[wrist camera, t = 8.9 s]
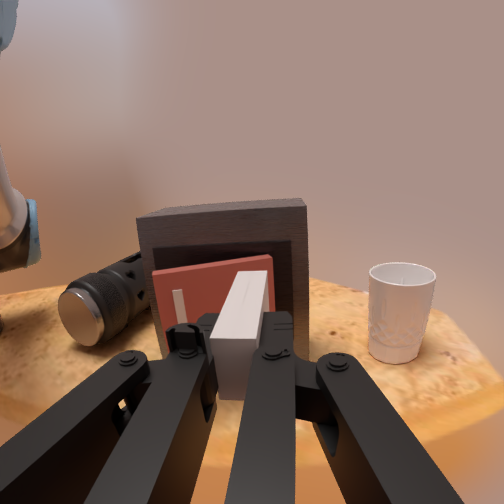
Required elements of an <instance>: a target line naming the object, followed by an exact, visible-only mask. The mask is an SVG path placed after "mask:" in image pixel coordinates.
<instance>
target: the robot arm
mask: <svg viewBox="0 0 504 504" xmlns="http://www.w3.org/2000/svg"><path fill="white" fill-rule="evenodd" d="M17 7H18V0H0V52H1V51H3V50H4V49H6V48H7V47H8V45H9V44H10V42H11V40H12V37H13V34H14V30H15V25H16V17H17V16H16V9H17ZM40 259H41V251H40V242H39V232H38V221H37V207H36V201H35V200H29V199H26V200H25V199H24V197H23V196H22V194H21V193H20V192H19V191H17V190H16V189H14V188H12V186H11V183H10V180H9V176H8V172H7V169H6V165H5V162H4V158H3V154H2V150H1V146H0V273H3V272H7V271H11V270H15V269H19V268H27V267H28V266H30V265H33V264H36V263H38V262H39V261H40ZM3 326H4V324H3V321H2V318H1V315H0V332H1V331H2V329H3ZM165 333H166V338H167V342H168V347H169V351H170V352H169V354H168V356H167V357H166V359H162V360H154V361H148V360H147V356H146V355H145V354H144V353H143V352H141V351H136V350H130V351H129V350H128V351H125V352H121V353H119V354H118V355H116V356H114V357H113V358H112V359H111V360H109V361H108V362H107V363H105V364H104V365H103V366H102V367H100V368H99V369H98V370H97V371H95V372H94V373H93V374H92V375H90V376H89V377H88V378H87V379H85V380H84V381H83V382H81V383H80V384H79V385H78V386H76V387H75V388H74V389H73V390H71V391H70V392H69V393H68V394H66V395H65V396H64V397H63V398H61V399H60V400H59V401H57V402H56V403H55V404H54V405H52V406H51V407H50V408H49V409H47V410H46V411H45V412H44V413H42V414H41V415H40V416H39V417H37V418H36V419H35V420H34V421H32V422H31V423H30V424H29V425H27V426H26V427H25V428H23V429H22V430H21V431H20V432H19V433H17V434H16V435H15V436H14V437H12V438H11V439H10V440H8V441H7V442H6V443H5V444H3V445H2V446H1V447H0V504H190V502H191V498H192V495H193V491H194V488H195V484H196V481H197V477H198V474H199V470H200V467H201V463H202V460H203V456H204V453H205V449H206V446H207V442H208V439H209V435H210V431H211V428H212V424H213V421H214V417H215V414H216V410H217V404H216V398H215V397H216V394H217V391H218V393H219V399H221V400H245V401H244V406H243V412H242V417H241V422H240V427H239V433H238V438H237V443H236V448H235V453H234V458H233V463H232V468H231V473H230V478H229V483H228V488H227V493H226V498H225V503H224V504H295V452H296V429H295V418H296V419H301V420H305V421H310V422H312V424H313V428H314V430H315V432H316V435H317V437H318V439H319V442H320V444H321V446H322V449H323V451H324V453H325V456H326V458H327V460H328V463H329V465H330V467H331V470H332V472H333V474H334V477H335V479H336V481H337V483H338V486H339V488H340V490H341V493H342V495H343V497H344V499H345V502H346V504H464V502H463V501H462V500H461V498H460V497H459V495H458V494H457V493H456V491H455V490H454V489H453V487H452V486H451V484H450V483H449V482H448V481H447V479H446V477H445V476H444V475H443V474H442V472H441V471H440V469H439V468H438V467H437V465H436V464H435V463H434V461H433V460H432V459H431V457H430V456H429V454H428V453H427V452H426V450H425V449H424V448H423V446H422V445H421V443H420V442H419V441H418V439H417V438H416V437H415V435H414V434H413V433H412V431H411V430H410V429H409V427H408V426H407V425H406V423H405V422H404V421H403V419H402V418H401V417H400V415H399V414H398V413H397V411H396V410H395V409H394V407H393V406H392V405H391V403H390V402H389V401H388V399H387V398H386V397H385V396H384V394H383V393H382V392H381V390H380V389H379V388H378V386H377V385H376V384H375V382H374V381H373V380H372V378H371V377H370V376H369V375H368V373H367V372H366V371H365V369H364V368H363V367H362V365H361V364H360V363H359V362H358V360H357V359H356V358H354V357H353V356H351V355H349V354H346V353H339V352H337V353H329V354H326V355H323V356H322V357H321V358H319V359H318V361H317V363H315V362H310V361H306V360H303V359H301V358H299V357H298V356H297V355H296V354H295V353H294V348H293V322H292V316H291V315H290V314H289V313H288V312H287V311H277V312H269V295H268V275H267V271H238V273H237V275H236V277H235V280H234V282H233V284H232V287H231V289H230V291H229V294H228V296H227V298H226V301H225V303H224V305H223V308H222V310H221V312H220V313H205V314H204V315H202V316H201V317H199V318H198V320H197V322H196V323H180V324H176V325H174V326H172V327H169V328H168V329H167V330H166V331H165ZM122 399H124V402H125V404H126V406H125V407H124V408H122V409H120V407H119V405H118V403H119V402H120V401H121V400H122Z"/></svg>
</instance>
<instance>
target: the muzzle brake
mask: <svg viewBox="0 0 504 504" xmlns="http://www.w3.org/2000/svg"><path fill="white" fill-rule="evenodd" d="M149 306H150V301H149V296H148V291H147V286H146V281H145V275H144V269H143V263H142V257H141V251H139V252H137V253H135V254H133V255H131V256H129V257H126V258H124V259H122V260H120V261H118V262H116V263H114V264H112V265H110V266H108V267H106V268H104V269H102V270H100V271H98V272H97V273H89V274H87V275H85V276H83V277H81V278H79V279H77V280H75V281H73V282H71V283H70V284H69V285H68V286H67V288H66V290H65V291H64V292H63V293H62V294H61V295H60V297H59V300H58V311H59V315H60V318H61V321H62V323H63V325H64V327H65V329H66V330H67V332H68V333H69V334H70V336H71V337H72V338H73V339H74V340H76V341H77V342H78V343H80V344H81V345H84V346H93V345H95V344H99V343H105V342H107V341H108V340H110V339H111V338H112V337H113V336H115V335H117V334H118V333H119V332H121V331H122V330H123V329H124V328H126V327H127V326H128V322H129V321H131V320H132V319H133V318H134V317H135V316H137V315H138V314H139V313H141V312H142V311H143V310H145V309H148V307H149Z"/></svg>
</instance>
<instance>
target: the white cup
mask: <svg viewBox="0 0 504 504" xmlns="http://www.w3.org/2000/svg"><path fill="white" fill-rule="evenodd" d="M435 282H436V274H435V273H434V271H432V270H431V269H429V268H426V267H424V266H421V265H417V264H412V263H401V262H393V263H384V264H379V265H376V266H374V267H372V268H371V269H370V271H369V306H368V308H369V314H368V331H369V336H368V351H369V353H370V354H371V355H372V356H373V357H374V358H375V359H377V360H379V361H382V362H384V363H391V364H401V363H406V362H409V361H411V360H413V359H414V358H416V357H417V355H418V353H419V350H420V347H421V343H422V339H423V336H424V334H425V330H426V326H427V322H428V317H429V314H430V309H431V303H432V298H433V292H434V287H435Z"/></svg>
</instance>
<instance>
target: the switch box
mask: <svg viewBox="0 0 504 504" xmlns="http://www.w3.org/2000/svg"><path fill="white" fill-rule="evenodd" d="M136 224H137V231H138V238H139V244H140V251H141V257H142V263H143V269H144V275H145V281H146V286H147V291H148V296H149V301H150V306H151V311H152V316H153V320H154V325H155V329H156V334H157V338H158V342H159V346H160V350H161V354H162V358H163V359H166V357H167V356H168V350H167V346H166V342H165V337H164V333H163V328H162V324H161V319H160V314H159V309H158V304H157V299H156V294H155V288H154V283H153V277H152V272H153V271H157V270H164V269H171V268H178V267H185V266H191V265H198V264H205V263H212V262H219V261H226V260H232V259H239V258H246V257H253V256H260V255H266V254H268V255H270V256H271V257H272V258H273V275H274V294H275V312H277V311H287V312H288V313H289V314H290V315H291V316H292V322H293V348H294V353H295V354H296V355H297V356H298V357H299V358H301V359H303V360H306V361H309V264H308V263H309V261H308V229H307V206H306V204H305V203H304V202H303V200H302V199H301V198H293V199H276V200H275V199H274V200H257V201H241V202H228V203H214V204H202V205H191V206H180V207H170V208H164V209H161V210H158V211H155V212H152V213H149V214H146V215H144V216H141V217H138V218H136Z"/></svg>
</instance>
